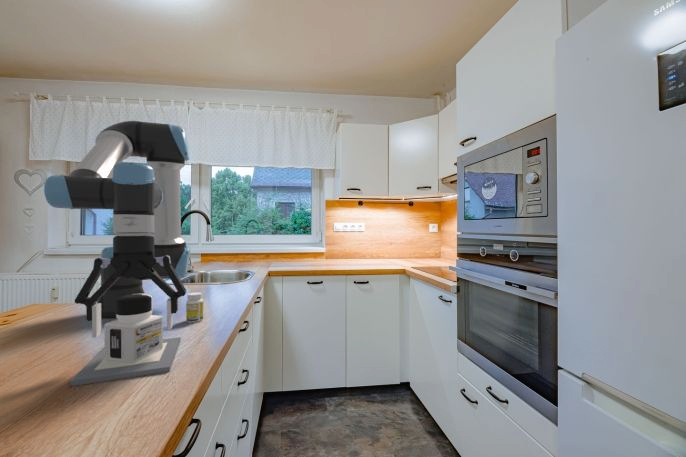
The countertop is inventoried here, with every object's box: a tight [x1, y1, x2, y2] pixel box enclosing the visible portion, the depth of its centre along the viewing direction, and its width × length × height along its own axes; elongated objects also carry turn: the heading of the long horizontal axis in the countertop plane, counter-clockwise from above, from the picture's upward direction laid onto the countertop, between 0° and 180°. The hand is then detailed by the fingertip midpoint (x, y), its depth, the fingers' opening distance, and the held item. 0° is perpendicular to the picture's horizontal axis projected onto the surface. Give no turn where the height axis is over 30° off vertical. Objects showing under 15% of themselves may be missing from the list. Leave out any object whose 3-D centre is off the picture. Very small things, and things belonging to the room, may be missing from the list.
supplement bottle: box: [185, 291, 204, 324], centre depth 97 cm, size 5×5×8 cm
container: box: [103, 293, 164, 363], centre depth 68 cm, size 8×8×13 cm
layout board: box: [70, 336, 181, 387], centre depth 68 cm, size 18×16×1 cm
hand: (134, 331), depth 68 cm, fingers open, 13 cm apart
